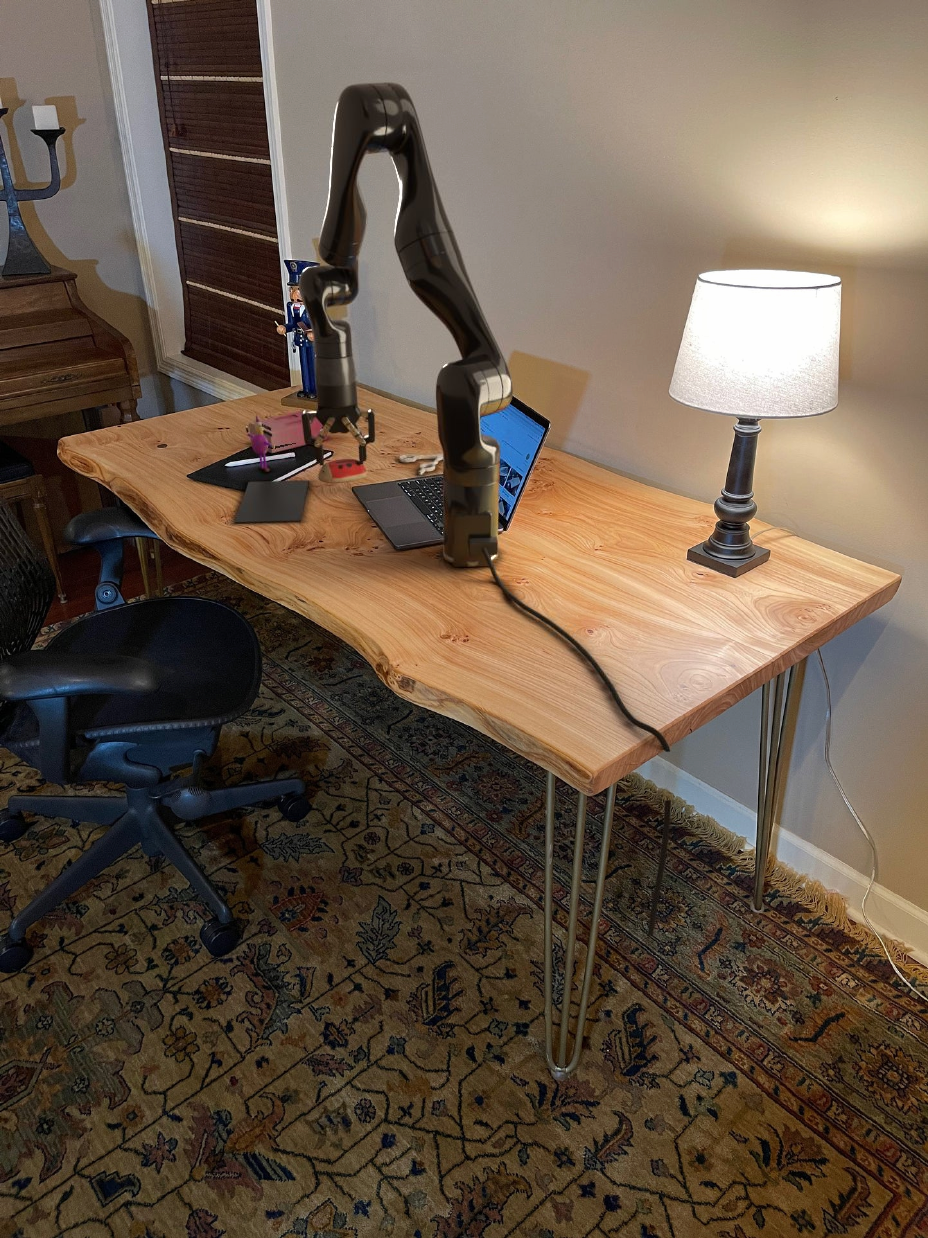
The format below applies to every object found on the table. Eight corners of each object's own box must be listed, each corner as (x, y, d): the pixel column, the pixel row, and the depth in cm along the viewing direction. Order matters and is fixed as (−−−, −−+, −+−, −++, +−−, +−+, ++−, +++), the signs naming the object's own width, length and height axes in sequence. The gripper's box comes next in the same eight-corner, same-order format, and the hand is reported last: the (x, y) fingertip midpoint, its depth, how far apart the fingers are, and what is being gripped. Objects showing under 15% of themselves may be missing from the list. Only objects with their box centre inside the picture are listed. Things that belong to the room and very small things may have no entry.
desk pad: (300, 521, 166) (300, 520, 165) (234, 523, 165) (234, 521, 165) (308, 481, 183) (308, 480, 183) (248, 483, 182) (248, 481, 182)
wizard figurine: (283, 476, 185) (277, 419, 179) (269, 480, 184) (263, 422, 178) (256, 461, 193) (249, 406, 187) (242, 465, 191) (236, 409, 185)
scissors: (391, 457, 193) (464, 438, 204) (391, 461, 193) (464, 442, 204) (420, 472, 186) (494, 451, 196) (420, 475, 186) (494, 454, 197)
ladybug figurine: (314, 476, 178) (312, 459, 177) (362, 470, 182) (361, 453, 180) (323, 488, 173) (322, 470, 171) (372, 480, 177) (371, 463, 175)
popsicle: (346, 414, 206) (270, 432, 195) (347, 434, 209) (272, 453, 197) (323, 405, 212) (248, 422, 201) (325, 425, 215) (250, 443, 203)
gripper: (295, 385, 164) (303, 471, 172) (374, 383, 165) (378, 469, 173) (298, 374, 171) (306, 458, 179) (374, 373, 172) (378, 456, 180)
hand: (341, 463), depth 176 cm, fingers closed on ladybug figurine, 7 cm apart
